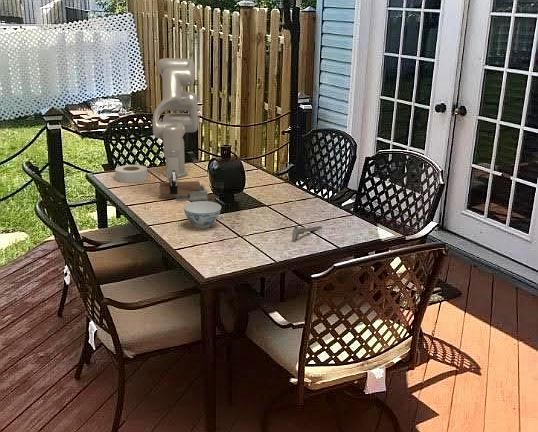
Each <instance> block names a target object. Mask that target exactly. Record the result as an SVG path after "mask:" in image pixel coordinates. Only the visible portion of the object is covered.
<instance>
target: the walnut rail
mask: <svg viewBox="0 0 538 432" xmlns="http://www.w3.org/2000/svg"><path fill="white" fill-rule="evenodd" d="M200 185H201V183H200V181H198V180H197V181H196V180H194V181H193V180H192V181H177V194H170V186H171V182H169V181H161V182H159V195H160V197H161V196H175V195H190V191H200Z"/></svg>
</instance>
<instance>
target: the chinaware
mask: <svg viewBox="0 0 538 432" xmlns="http://www.w3.org/2000/svg"><path fill="white" fill-rule="evenodd" d="M183 211H184V214H185V216H186V218H187V219H188V220H189V222H191V224H193V225H194V226H195V227H196V228H201V229H202V228H203V229H204V228H206V229H207V228H209V227H210V226H212V224H213V223H214V222H215V221H216V220H217V219H218V218H219V216H220V214H221V211H222V206H221V205H220V204H219V203H217V202H214V201H209V200H196V201H192V202H191V201H190V202H188V203H186V204H185V205H184V206H183Z"/></svg>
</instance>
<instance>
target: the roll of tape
mask: <svg viewBox="0 0 538 432" xmlns="http://www.w3.org/2000/svg"><path fill="white" fill-rule="evenodd" d="M114 172H115V173H114V175H115V180H116V181H117V182H119V183H125V184H133V183H134V184H135V183H142V182H145V181H147V180H148V178H149V177H148V167H147V166H145V165H143V164H141V165H140V164H126V165H121V166H120V165H119V166H117V167H116V168H114Z"/></svg>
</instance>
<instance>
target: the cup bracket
mask: <svg viewBox="0 0 538 432" xmlns="http://www.w3.org/2000/svg"><path fill="white" fill-rule="evenodd" d="M174 196H175V200H176V202H188V201H189V202H191V201H192V202H193V201H208V200H207V199H209V197H208V189H207V187H206V186H205V185H201V184H200V191H190V195H174Z"/></svg>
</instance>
